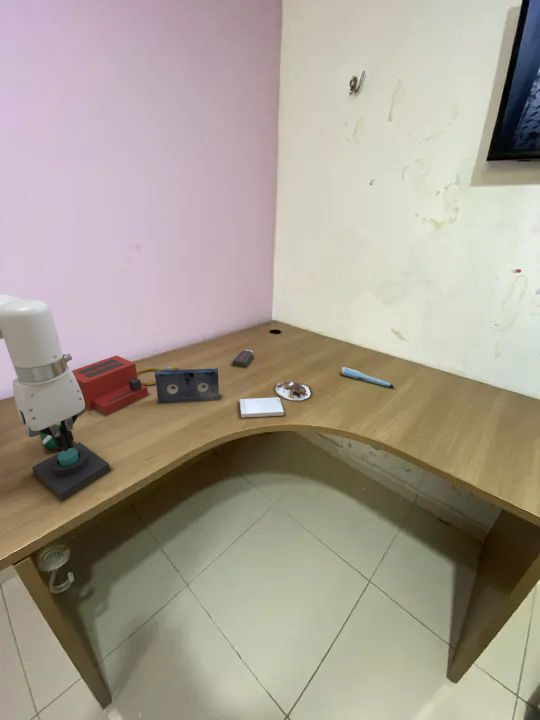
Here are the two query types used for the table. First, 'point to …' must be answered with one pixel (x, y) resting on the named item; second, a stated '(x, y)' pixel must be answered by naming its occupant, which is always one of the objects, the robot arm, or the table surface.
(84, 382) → the toaster
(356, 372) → the light blue tapered rod
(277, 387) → the plate of food
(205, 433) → the table surface
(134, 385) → the toaster slider
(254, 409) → the hard drive
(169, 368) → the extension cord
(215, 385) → the vhs cassette tape
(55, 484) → the control block
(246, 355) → the usb drive
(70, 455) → the button
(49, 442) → the green piece
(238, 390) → the table surface
